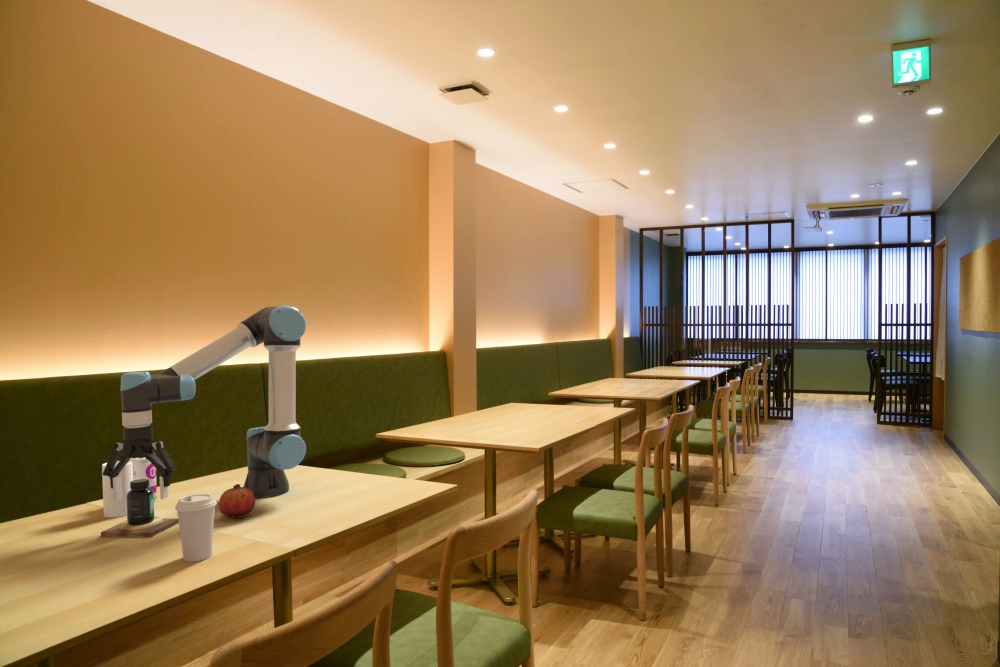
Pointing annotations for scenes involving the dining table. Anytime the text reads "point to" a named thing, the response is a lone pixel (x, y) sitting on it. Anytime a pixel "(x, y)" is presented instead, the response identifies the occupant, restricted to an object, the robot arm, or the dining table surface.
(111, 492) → the cup
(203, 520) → the coffee cup
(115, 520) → the dining table surface
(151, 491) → the supplement bottle
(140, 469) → the supplement can
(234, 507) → the fruit
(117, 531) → the walnut board
